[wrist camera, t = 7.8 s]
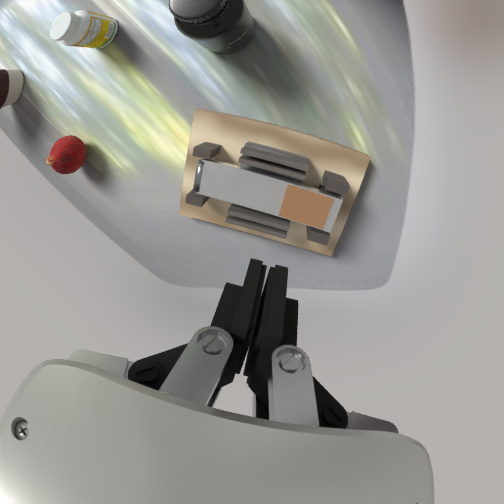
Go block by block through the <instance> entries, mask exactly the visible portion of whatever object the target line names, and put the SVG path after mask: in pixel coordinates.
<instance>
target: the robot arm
mask: <svg viewBox="0 0 504 504" xmlns="http://www.w3.org/2000/svg"><path fill="white" fill-rule="evenodd" d="M262 263H263V261H260V260H256V259H252V258H251V260H250V263H249V267H248V270H247V274H246V277H245V281H244V284H243V287H242V286H238V285H234V284H231V283H226V284H225V287H224V291H223V293H222V296H221V298H220V301H219V304H218V306H217V309H216V312H215V315H214V317H213V320H212V323H211V326H208V327H203V328H201V329H199V330H198V331H197V332H196V333H195V334H194V336H193V337H192V339H191V340H190V342H189V343H187V344H185V345H182V346H179V347H176V348H173V349H170V350H167V351H164V352H161V353H158V354H155V355H152V356H149V357H146V358H143V359H140V360H138V361H136V362H132V361H128V359H127V358H122V357H117V356H112V355H107V354H102V353H97V352H93V351H89V350H77V351H75V352H73V353H72V354H71V355H70V356H69V358H68V360H64V359H53V360H46V361H44V362H42V363H40V364H39V365H37V366H36V367H35V368H34V369H33V370H32V371H31V372H30V373H29V374H28V376H27V377H26V378H25V379H24V381H23V382H22V384H21V385H20V386H19V388H18V389H17V391H16V393H15V394H14V396H13V397H12V399H11V401H10V402H9V404H8V406H7V408H6V410H5V412H4V414H3V416H2V418H1V420H0V504H434V482H433V472H432V467H431V462H430V458H429V455H428V452H427V450H426V449H425V447H424V446H423V445H422V444H421V443H419V442H418V441H416V440H414V439H412V438H410V437H407V436H404V435H401V434H399V433H398V429H397V428H396V426H395V425H394V424H393V423H391V422H389V421H385V420H381V419H378V418H374V417H370V416H367V415H363V414H360V413H356V412H353V411H352V412H351V413H349V412H346V410H345V409H344V408H343V407H342V406H341V405H340V403H339V402H338V401H337V400H336V399H335V398H334V397H333V396H332V395H331V394H330V393H329V392H328V391H327V390H326V389H325V388H324V387H323V386H322V385H321V384H320V383H319V382H318V381H317V380H316V379H315V378H314V377H313V376H312V371H311V364H310V360H309V357H308V356H307V354H306V353H305V352H304V351H303V350H302V349H300V348H298V347H297V325H298V300H294V299H289V298H286V290H287V278H288V268H287V267H283V266H279V265H276V266H275V268H274V267H270V270H269V273H268V276H267V279H266V283H265V286H264V289H263V283H264V278H265V273H266V267H267V266H266V265H262ZM262 289H263V292H262ZM261 294H262V295H261ZM248 348H249V350H248ZM247 351H248V354H247V359H246V364H245V369H244V374H243V375H244V376H248V378H247V383H248V386H249V387H250V389H251V390H252V391H253V392H254V393H253V417H250V416H245V415H241V414H236V413H232V412H227V411H223V410H219V409H216V408H213V406H214V404H215V402H216V400H217V398H218V396H219V394H220V392H221V389H222V387H223V386H225V385H227V384H229V383H231V382H233V379H234V376H235V373H236V374H240V371H241V368H242V365H243V362H244V359H245V356H246V353H247Z"/></svg>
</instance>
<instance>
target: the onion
mask: <svg viewBox="0 0 504 504" xmlns="http://www.w3.org/2000/svg"><path fill="white" fill-rule="evenodd" d="M86 152H87V151H86V147H85V144H84V143H83V141H82V140H81V139H79V138H78V137H76V136H71V135H70V136H65V137H63V138H61V139H59V140H58V141H56V143H55V144H54V146H53V147H52V149H51V152H50V157H48V158H47V161H46V162H47V164H48V165H50V166H52V168H53V169H54V170H55V171H56V172H58V173H61V174H70V173H73V172H75V171H76V170H78V169H79V168H80V167H81V166H82V165H83V163H84V161H85V159H86Z"/></svg>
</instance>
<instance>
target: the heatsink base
mask: <svg viewBox="0 0 504 504" xmlns="http://www.w3.org/2000/svg"><path fill="white" fill-rule="evenodd" d="M370 158H371V157H369V156H368V155H367V154H364V153H362V152H359V151H357V150H354V149H351V148H348V147H346V146H343V145H340V144H337V143H334V142H331V141H329V140H326V139H322V138H319V137H316V136H313V135H310V134H307V133H303V132H300V131H296V130H293V129H289V128H286V127H282V126H278V125H275V124H271V123H267V122H263V121H258V120H254V119H250V118H245V117H241V116H236V115H231V114H226V113H221V112H215V111H210V110H204V109H195V113H194V118H193V124H192V129H191V135H190V141H189V146H188V153H187V159H186V165H185V172H184V179H183V186H182V194H181V202H180V211H179V214H181V215H185V216H188V217H192V218H196V219H200V220H203V221H207V222H211V223H214V224H218V225H222V226H226V227H229V228H233V229H236V230H240V231H244V232H247V233H251V234H255V235H258V236H262V237H265V238H269V239H272V240H276V241H279V242H283V243H286V244H290V245H293V246H297V247H300V248H304V249H307V250H311V251H314V252H318V253H321V254H325V255H328V256H332V254H333V251H334V249H335V247H336V244H337V242H338V240H339V237H340V235H341V233H342V230H343V228H344V226H345V223H346V221H347V218H348V216H349V213H350V211H351V208H352V206H353V203H354V201H355V198H356V196H357V193H358V191H359V188H360V185H361V183H362V180H363V177H364V175H365V172H366V169H367V166H368V163H369V161H370ZM198 159H209V160H210V159H212V160H217V161H221V162H225V163H229V164H233V165H237V166H241V167H245V168H248V169H252V170H256V171H259V172H263V173H267V174H270V175H274V176H277V177H280V178H284V179H287V180H290V181H294V182H297V183H300V184H303V185H307V186H310V187H313V188H316V189H319V190H322V191H325V192H328V193H331V194H334V195H337V196H340V197H342V199H343V202H342V204H341V207H340V209H339V212H338V215H337V217H336V220H335V222H334V225H333V227H332V230H331V232H330V233H329V232H326V231H323V230H320V229H317V228H314V227H311V226H307V225H304V224H301V223H298V222H295V221H291V220H288V219H285V218H282V217H278V216H275V215H272V214H268V213H265V212H262V211H258V210H255V209H251V208H248V207H244V206H241V205H237V204H234V203H230V202H227V201H223V200H219V199H216V198H212V197H208V196H205V195H201V194H197V193H196V192H195V191H193V185H194V179H195V173H196V166H197V161H198Z"/></svg>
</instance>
